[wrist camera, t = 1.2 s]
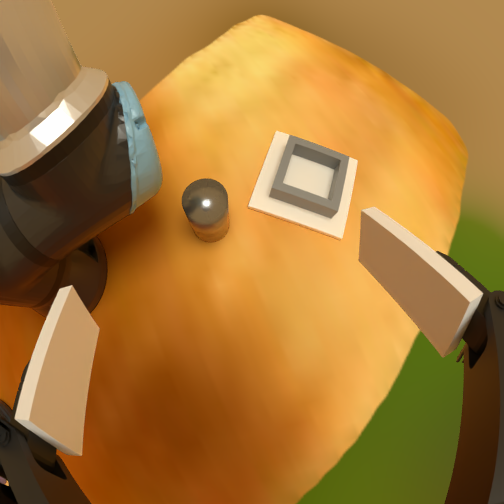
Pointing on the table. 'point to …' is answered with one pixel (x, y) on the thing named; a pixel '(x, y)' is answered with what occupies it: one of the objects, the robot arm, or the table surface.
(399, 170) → the table surface
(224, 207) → the glossy bronze cylinder
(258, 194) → the square socket
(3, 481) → the container
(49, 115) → the robot arm
